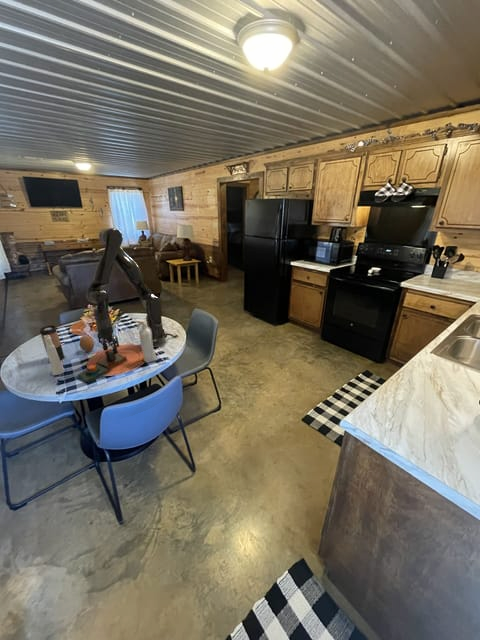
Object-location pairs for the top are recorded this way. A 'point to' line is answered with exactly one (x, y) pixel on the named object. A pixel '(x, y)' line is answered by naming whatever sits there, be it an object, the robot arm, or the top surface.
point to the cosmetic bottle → (53, 357)
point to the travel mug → (54, 337)
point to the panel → (112, 362)
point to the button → (91, 367)
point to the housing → (92, 373)
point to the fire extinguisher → (146, 341)
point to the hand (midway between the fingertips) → (110, 351)
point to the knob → (110, 355)
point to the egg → (86, 343)
